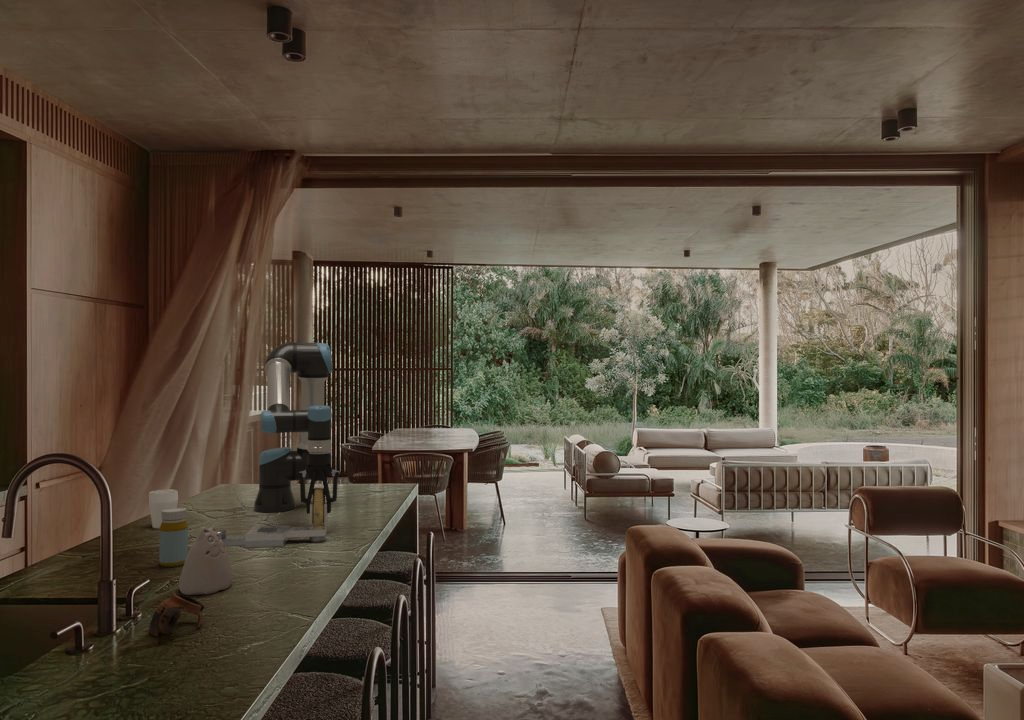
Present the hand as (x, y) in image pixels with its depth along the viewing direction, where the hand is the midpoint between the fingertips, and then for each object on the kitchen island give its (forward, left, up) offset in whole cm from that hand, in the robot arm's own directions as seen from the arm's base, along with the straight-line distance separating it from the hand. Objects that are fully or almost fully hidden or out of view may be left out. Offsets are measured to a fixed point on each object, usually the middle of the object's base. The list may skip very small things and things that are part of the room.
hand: (318, 522), depth 227 cm
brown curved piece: (+84, -18, -4) cm, 86 cm away
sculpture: (+55, -20, -4) cm, 59 cm away
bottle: (+32, -35, -3) cm, 48 cm away
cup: (-17, -54, -3) cm, 57 cm away
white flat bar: (+11, -14, -3) cm, 18 cm away
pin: (0, 0, -3) cm, 3 cm away
